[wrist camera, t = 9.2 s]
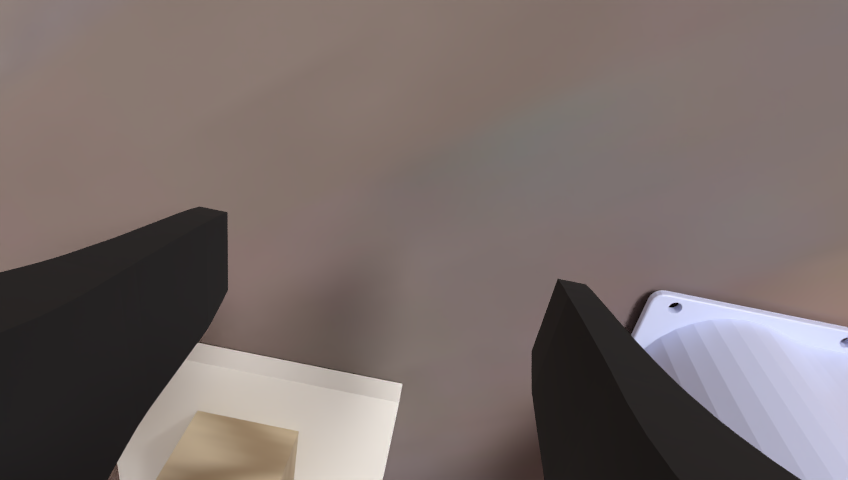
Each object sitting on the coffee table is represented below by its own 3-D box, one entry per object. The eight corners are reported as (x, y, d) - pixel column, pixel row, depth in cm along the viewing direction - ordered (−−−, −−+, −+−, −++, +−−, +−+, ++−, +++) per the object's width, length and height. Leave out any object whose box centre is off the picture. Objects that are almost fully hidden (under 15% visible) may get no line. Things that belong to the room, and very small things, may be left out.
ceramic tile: (402, 383, 26) (399, 402, 25) (370, 532, 32) (367, 552, 31) (113, 325, 26) (97, 342, 25) (135, 485, 32) (123, 503, 31)
